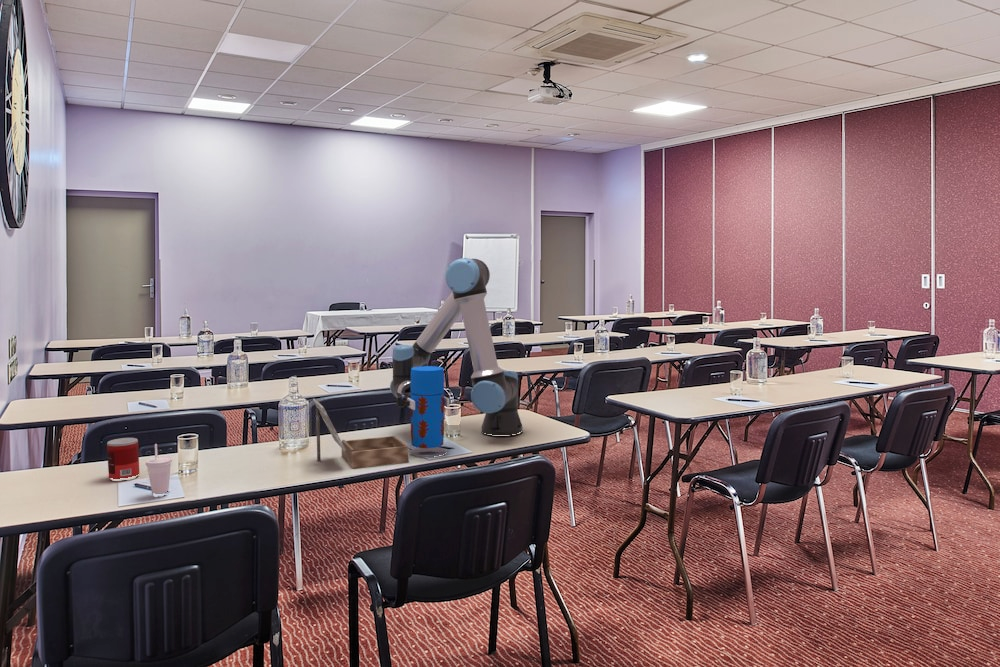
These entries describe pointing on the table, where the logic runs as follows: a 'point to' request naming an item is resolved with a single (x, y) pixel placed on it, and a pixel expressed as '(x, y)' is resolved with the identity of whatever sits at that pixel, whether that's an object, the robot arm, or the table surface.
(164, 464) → the smoothie
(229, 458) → the table surface
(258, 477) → the table surface
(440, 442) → the thermos
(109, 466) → the canned food
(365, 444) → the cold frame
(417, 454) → the disc
